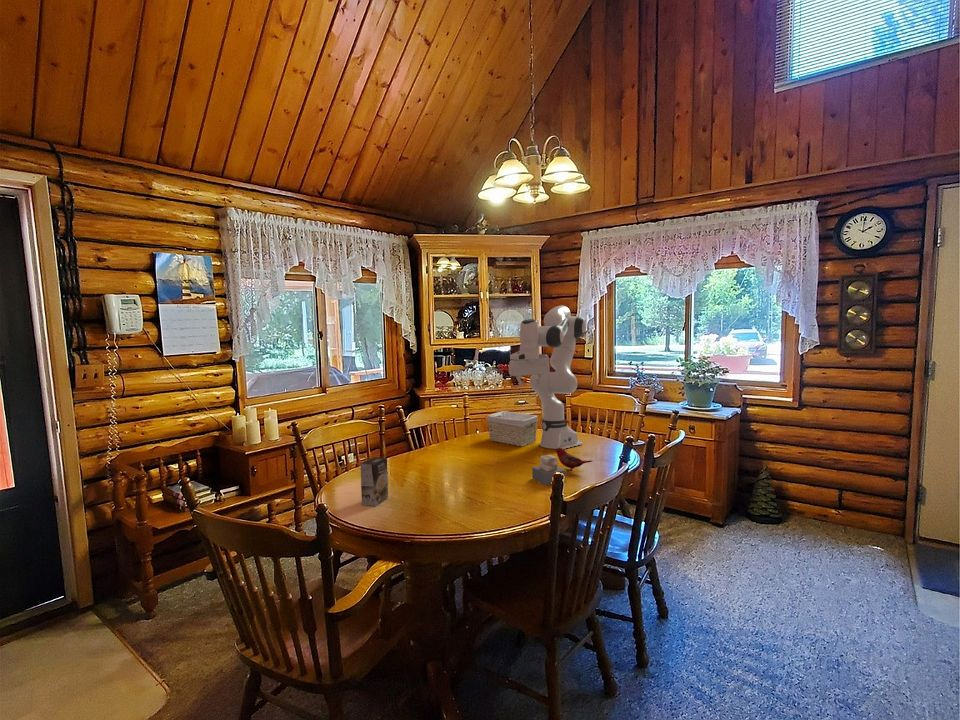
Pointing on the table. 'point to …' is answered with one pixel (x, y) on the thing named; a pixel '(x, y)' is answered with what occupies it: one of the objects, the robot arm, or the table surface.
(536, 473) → the grey block
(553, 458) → the cream cube
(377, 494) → the coffee box
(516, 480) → the table surface
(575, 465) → the decorative bird figurine
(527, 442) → the storage basket
